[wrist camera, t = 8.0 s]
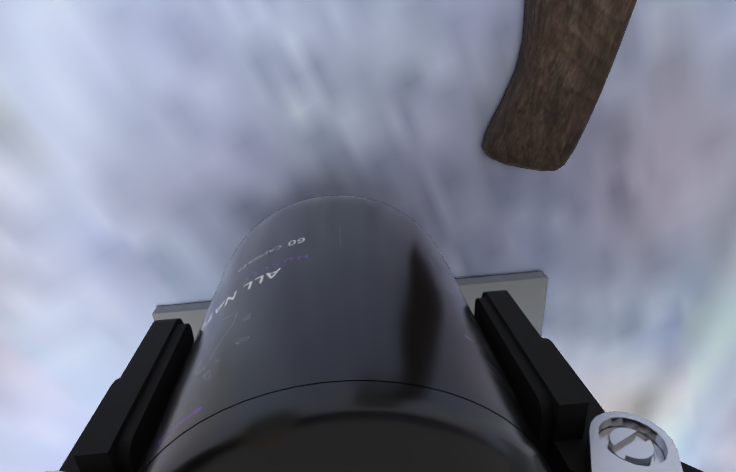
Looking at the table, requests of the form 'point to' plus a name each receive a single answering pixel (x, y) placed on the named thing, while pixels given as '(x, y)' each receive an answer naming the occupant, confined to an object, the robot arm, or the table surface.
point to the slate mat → (520, 286)
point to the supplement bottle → (341, 358)
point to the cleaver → (556, 80)
